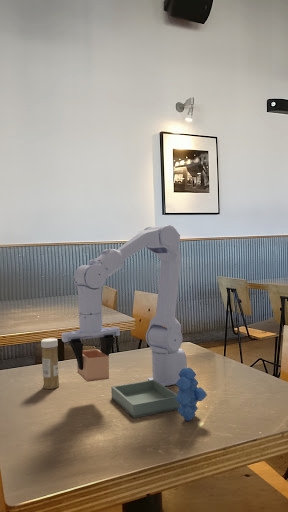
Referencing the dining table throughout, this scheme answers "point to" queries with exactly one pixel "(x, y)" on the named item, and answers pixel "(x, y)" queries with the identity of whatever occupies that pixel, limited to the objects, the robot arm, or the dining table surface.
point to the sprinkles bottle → (50, 363)
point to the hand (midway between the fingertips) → (92, 367)
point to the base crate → (144, 398)
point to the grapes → (188, 393)
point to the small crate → (94, 365)
